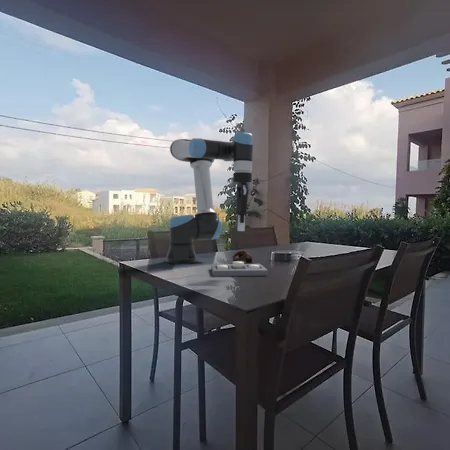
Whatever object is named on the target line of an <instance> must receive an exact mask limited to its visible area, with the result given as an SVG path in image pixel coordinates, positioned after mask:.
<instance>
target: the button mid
mask: <svg viewBox="0 0 450 450" xmlns="http://www.w3.org/2000/svg"><path fill="white" fill-rule="evenodd" d="M232 264H233V268H234V269H243V268H244V264H245V262H242V261H234V262H233V261H232Z"/></svg>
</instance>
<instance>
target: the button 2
mask: <svg viewBox="0 0 450 450" xmlns="http://www.w3.org/2000/svg"><path fill="white" fill-rule="evenodd" d="M259 267H260V266H259V265H249V269H259Z"/></svg>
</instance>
